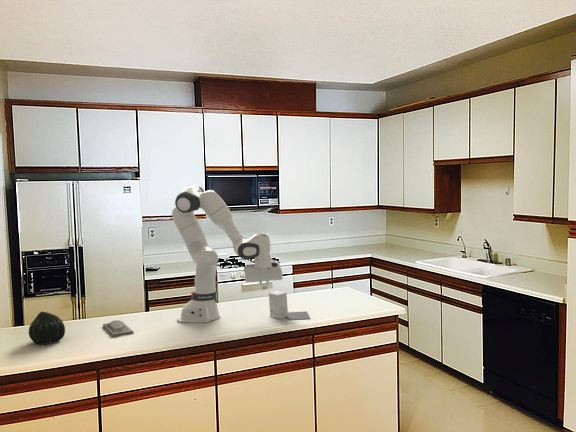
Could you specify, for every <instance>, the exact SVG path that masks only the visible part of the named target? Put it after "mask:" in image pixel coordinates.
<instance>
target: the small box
mask: <svg viewBox="0 0 576 432" xmlns="http://www.w3.org/2000/svg"><path fill="white" fill-rule="evenodd" d="M287 294H288V293H287V292H285V291H280V290H274V291H271V292H268V303H269V316H270V317H272V318H276V319H280V320H281V319H283V318H287V316H288V312H289V310H288V296H287Z"/></svg>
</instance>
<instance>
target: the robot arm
mask: <svg viewBox="0 0 576 432" xmlns="http://www.w3.org/2000/svg"><path fill="white" fill-rule="evenodd" d="M174 205H175V207H174V208H173V209H172V211H171V214H172V219H173V221H174V224H175V226H176V229H177V231H178V232H179V234H180V237H181V238H182V239H183V242H184V244H185V245H186V246H185V247H186V248H187V250H188V253H189V255H190V257H191V260H192V261H193V262H194V263H195V266H196V269H195V276H194V291H193V290H192V291H191V292H190V297H191V299H190V300H189V301H188V302H187V303H186V304H184V305H183V307H182V309H181V312H180V314H178V316H177V317H176V318H177V322H178V323H208V322H211V321H214V320H217V319H219V318H221V315H220V312H219V308H218V302H217V301H218V291H217V288H216V287H217V286H216V283H217V282H216V279H217V278H216V274H217V269H218V268H217V267H218V262H219V256H218V254H217V253H218V252H217V251H216V250H215V249H214V248H212V247H210V245H209V244H208V241H207V239H206V236H205V232H204V230H203V229H202V226H201V225H200V223H199V221H198V219H197V216H195V213H194V211H198V210H199V209H202V210H203V212H204V213H205V214H206V215H207V217H208V218H209V219H210V220H211V222H212V223H213V224H214V225H215V226H217V227H218V228H219V229H221V230H223V232H224V233H225V234H226V236H227V237H228V238H229V240H230V241H231V243H232V245H233V249H234V252H235V253H234V254H235V255H237V256H238V257H239V258H240V259H242V260H247V261H248V260H251V259H254V264H253V263H252V264H246V265H245V266H243V272H244V281H245V283H256V282H258V283H259V285H260V287H261V290H268V286H269V283H270V282H271V281H282V280H283V279H284V276H283V270H282V268H281V265H280V262H279V260H276V259H272V255H271V249H272V248H271V240H270V236H269V235H267V234H266V233H260V232H259V233H254V235H253V236H251V237H249V238H246V237H244V236H243V235H242V234H241V232H240V230H238V228H237V226H236V225H235V223H234V221H233V214H232V211H231V210H230V208H229V207H228V205H227V204H226V202H225V201H224V199H223V198H222V197H221V196H220V195H219V194H218V193H217V192H216V191H215V190H212V189H208V190H204V188H203V187H202V186H201V185H199V184H195V183H194V184H189V185H187V186H186V187H185V188H184V189H182V190H181V192H180V193H178V195H177V196H176V198H175V200H174ZM263 282H265V285H264V284H262V283H263Z"/></svg>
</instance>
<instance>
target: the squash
mask: <svg viewBox="0 0 576 432" xmlns="http://www.w3.org/2000/svg"><path fill="white" fill-rule="evenodd" d="M65 326H66V325H65V324H64V321H63V319H61V318H60V316H58V315H56V314H52V313H51V312H46V311H40V312H39V313H38V314H37V316H35V318H34V319H33V321H32V322H31V324H30V325H29V328H28V336H29V338H30V340H31V341H32V342H33V343H34V344H37V345H42V346H43V345H46V344H48V343H51V342H52V341H53V342H58V341H59V342H60V340H62V339H63V338H64V336H65V333H66V327H65Z"/></svg>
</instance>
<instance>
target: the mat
mask: <svg viewBox="0 0 576 432" xmlns="http://www.w3.org/2000/svg"><path fill="white" fill-rule="evenodd" d="M286 319H287V321H296V320H297V321H298V320H311V317H310V315H309V313H308V311H288V316H287V317H286Z"/></svg>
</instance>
